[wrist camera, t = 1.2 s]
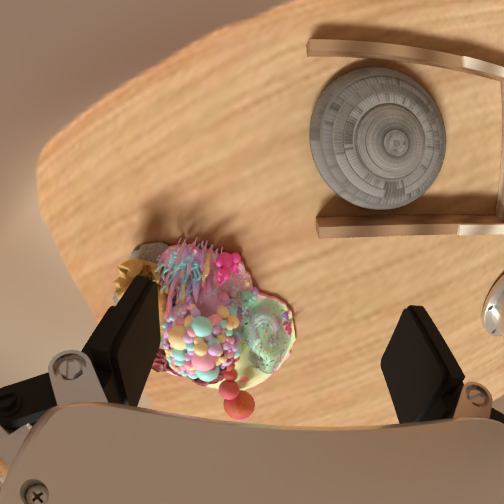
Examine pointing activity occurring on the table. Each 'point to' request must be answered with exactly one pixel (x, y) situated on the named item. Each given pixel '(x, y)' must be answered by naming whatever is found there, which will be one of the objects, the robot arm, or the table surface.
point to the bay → (412, 223)
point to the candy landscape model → (212, 319)
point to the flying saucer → (377, 138)
